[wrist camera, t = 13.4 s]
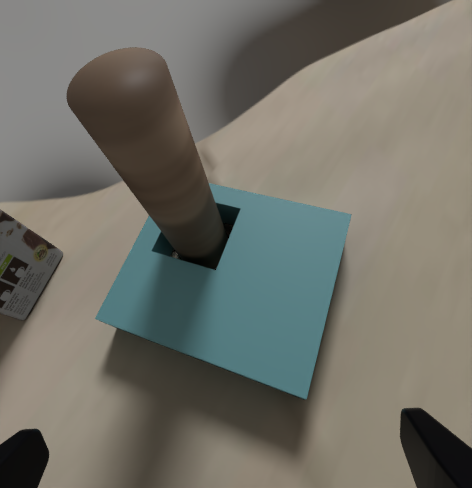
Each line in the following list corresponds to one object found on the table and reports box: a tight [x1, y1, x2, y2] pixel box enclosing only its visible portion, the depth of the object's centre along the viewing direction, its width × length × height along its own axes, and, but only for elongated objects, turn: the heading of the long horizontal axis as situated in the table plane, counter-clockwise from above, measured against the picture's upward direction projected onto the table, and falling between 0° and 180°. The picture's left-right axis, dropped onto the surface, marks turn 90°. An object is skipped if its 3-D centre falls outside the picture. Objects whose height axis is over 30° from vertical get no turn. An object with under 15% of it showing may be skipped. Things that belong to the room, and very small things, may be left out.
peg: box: [67, 47, 228, 269], centre depth 19 cm, size 4×4×15 cm
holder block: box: [95, 183, 352, 399], centre depth 23 cm, size 12×14×3 cm
